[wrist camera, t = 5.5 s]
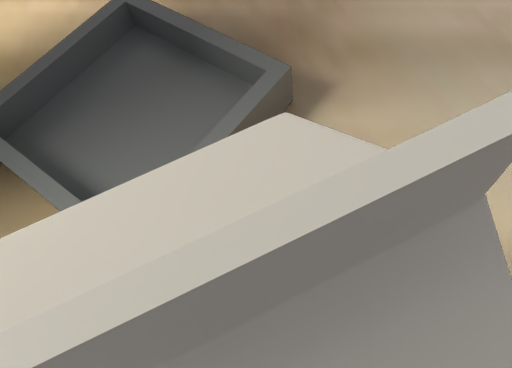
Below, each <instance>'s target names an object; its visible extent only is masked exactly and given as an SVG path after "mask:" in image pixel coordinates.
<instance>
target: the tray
mask: <svg viewBox="0 0 512 368" xmlns="http://www.w3.org/2000/svg"><path fill="white" fill-rule="evenodd" d="M292 101H293V96H292V75H291V66H289V65H287V64H285V63H283V62H281V61H279V60H276V59H274V58H272V57H270V56H268V55H266V54H264V53H262V52H260V51H257V50H255V49H253V48H251V47H249V46H247V45H245V44H243V43H240V42H238V41H236V40H234V39H232V38H230V37H228V36H226V35H224V34H221V33H219V32H217V31H215V30H213V29H211V28H209V27H207V26H204V25H202V24H200V23H198V22H196V21H194V20H192V19H190V18H188V17H185V16H183V15H181V14H179V13H177V12H175V11H173V10H171V9H168V8H166V7H164V6H162V5H160V4H158V3H156V2H154V1H152V0H111V1H110V2H108V3H107V4H106V5H105V6H104V7H102V8H101V9H100V10H99V11H97V12H96V13H95V14H94V15H93V16H91V17H90V18H89V19H88V20H87V21H85V22H84V23H83V24H82V25H80V26H79V27H78V28H77V29H76V30H74V31H73V32H72V33H71V34H69V35H68V36H67V37H66V38H65V39H63V40H62V41H61V42H60V43H58V44H57V45H56V46H55V47H54V48H52V49H51V50H50V51H49V52H48V53H46V54H45V55H44V56H43V57H41V58H40V59H39V60H38V61H37V62H35V63H34V64H33V65H32V66H30V67H29V68H28V69H27V70H26V71H24V72H23V73H22V74H21V75H19V76H18V77H17V78H16V79H15V80H13V81H12V82H11V83H10V84H9V85H7V86H6V87H5V88H4V89H2V90H1V91H0V162H2V163H3V164H4V165H5V166H6V167H8V168H9V169H10V170H11V171H12V172H14V173H15V174H16V175H17V176H18V177H20V178H21V179H22V180H23V181H24V182H26V183H27V184H28V185H29V186H30V187H32V188H33V189H34V190H35V191H36V192H38V193H39V194H40V195H41V196H42V197H44V198H45V199H46V200H47V201H48V202H50V203H51V204H52V205H53V206H55V207H56V208H57V209H58V210H59V211H63V210H65V209H67V208H69V207H72V206H74V205H76V204H78V203H81V202H83V201H85V200H87V199H90V198H92V197H94V196H96V195H99V194H101V193H103V192H105V191H108V190H110V189H112V188H114V187H116V186H119V185H121V184H123V183H125V182H128V181H130V180H132V179H134V178H137V177H139V176H141V175H143V174H146V173H148V172H150V171H152V170H155V169H157V168H159V167H161V166H164V165H166V164H168V163H170V162H173V161H175V160H177V159H179V158H182V157H184V156H186V155H188V154H191V153H193V152H195V151H197V150H200V149H202V148H204V147H206V146H209V145H211V144H213V143H215V142H217V141H220V140H222V139H224V138H226V137H229V136H231V135H233V134H235V133H238V132H240V131H242V130H244V129H247V128H249V127H251V126H254V125H256V124H258V123H260V122H263V121H265V120H267V119H270V118H272V117H274V116H277V115H279V114H282V112H283V111H284V110H285V109H286V108H287V107H288V105H289V104H290V103H291V102H292Z"/></svg>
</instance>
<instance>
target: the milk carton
mask: <svg viewBox="0 0 512 368" xmlns="http://www.w3.org/2000/svg"><path fill="white" fill-rule="evenodd" d="M511 162H512V91H510V92H508V93H506V94H504V95H502V96H500V97H497V98H495V99H493V100H491V101H489V102H487V103H485V104H483V105H481V106H478V107H476V108H474V109H472V110H470V111H468V112H466V113H464V114H462V115H459V116H457V117H455V118H453V119H451V120H449V121H447V122H445V123H442V124H440V125H438V126H436V127H434V128H432V129H430V130H428V131H426V132H423V133H421V134H419V135H417V136H415V137H413V138H411V139H409V140H407V141H404V142H402V143H400V144H398V145H396V146H394V147H392V148H390V149H386V148H383V147H381V146H378V145H375V144H372V143H370V142H367V141H364V140H361V139H359V138H356V137H353V136H350V135H348V134H345V133H342V132H339V131H337V130H334V129H331V128H329V127H326V126H323V125H320V124H318V123H315V122H312V121H309V120H307V119H304V118H301V117H298V116H296V115H293V114H290V113H287V112H285V113H282V114H279V115H277V116H274V117H272V118H270V119H267V120H265V121H263V122H260V123H258V124H256V125H254V126H251V127H249V128H247V129H244V130H242V131H240V132H238V133H235V134H233V135H231V136H229V137H226V138H224V139H222V140H220V141H217V142H215V143H213V144H211V145H209V146H206V147H204V148H202V149H200V150H197V151H195V152H193V153H191V154H188V155H186V156H184V157H182V158H179V159H177V160H175V161H173V162H170V163H168V164H166V165H164V166H161V167H159V168H157V169H155V170H152V171H150V172H148V173H146V174H143V175H141V176H139V177H137V178H134V179H132V180H130V181H128V182H125V183H123V184H121V185H119V186H116V187H114V188H112V189H110V190H108V191H105V192H103V193H101V194H99V195H96V196H94V197H92V198H90V199H87V200H85V201H83V202H81V203H78V204H76V205H74V206H72V207H69V208H67V209H65V210H63V211H60V212H58V213H56V214H54V215H51V216H49V217H47V218H45V219H42V220H40V221H38V222H36V223H33V224H31V225H29V226H27V227H24V228H22V229H20V230H18V231H15V232H13V233H11V234H9V235H6V236H4V237H2V238H0V368H512V279H511V276H510V273H509V270H508V266H507V263H506V260H505V256H504V253H503V250H502V247H501V243H500V240H499V237H498V234H497V231H496V227H495V224H494V221H493V218H492V214H491V211H490V208H489V205H488V202H487V197H486V195H485V193H486V192H487V191H488V190H489V188H490V187H491V186H492V185H493V184H494V183H495V182H496V180H497V179H498V178H499V177H500V176H501V174H502V173H503V172H504V171H505V169H506V168H507V167H508V166H509V165H510V163H511Z"/></svg>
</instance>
